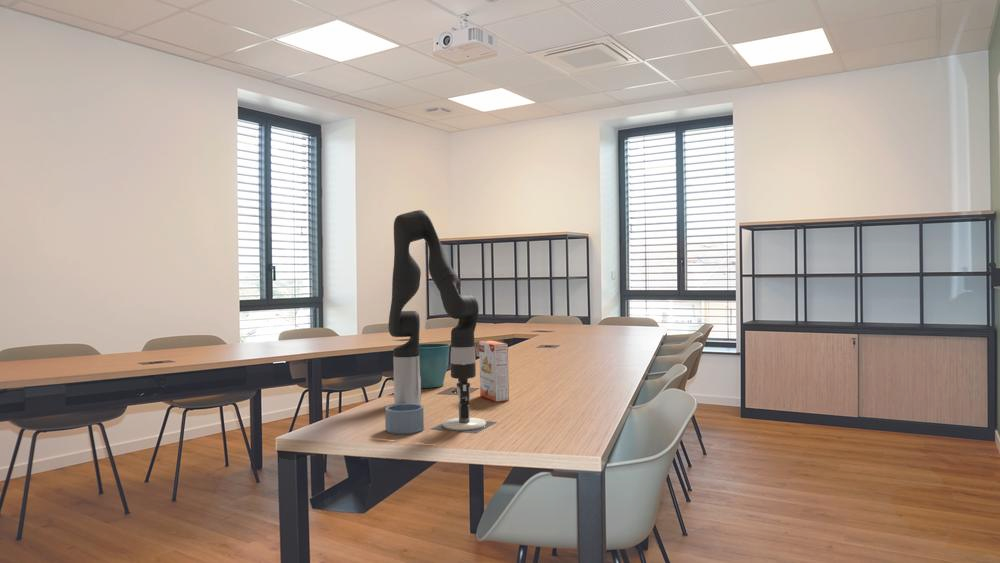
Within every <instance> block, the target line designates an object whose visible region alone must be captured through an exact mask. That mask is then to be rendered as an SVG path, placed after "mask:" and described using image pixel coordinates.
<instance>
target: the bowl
mask: <svg viewBox="0 0 1000 563" xmlns="http://www.w3.org/2000/svg"><path fill="white" fill-rule="evenodd" d="M384 410H385V411H384V412H385V416H384V420H385V431H386V432H387V433H388V434H392V435H412V434H417V433H420V432H422V431H423V430H424V429H425V426H424V425H425V424H424V421H425V420H424V419H425V418H424V416H425V414H424V413H425V412H424V405H422V404H397V405H394V404H393V405H388V406H385V409H384Z"/></svg>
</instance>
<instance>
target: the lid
mask: <svg viewBox="0 0 1000 563" xmlns="http://www.w3.org/2000/svg"><path fill="white" fill-rule="evenodd" d="M486 421H487V420H486V419H483V418H478V417H470V405H469V406H468V419H462V418H461V406H460V404H458V417H453V418H448V419H445V420H444V421H442V424H443V428H445V429H449V430H457V431H466V430H476V429H480V428H483V427H485V426H486Z"/></svg>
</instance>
